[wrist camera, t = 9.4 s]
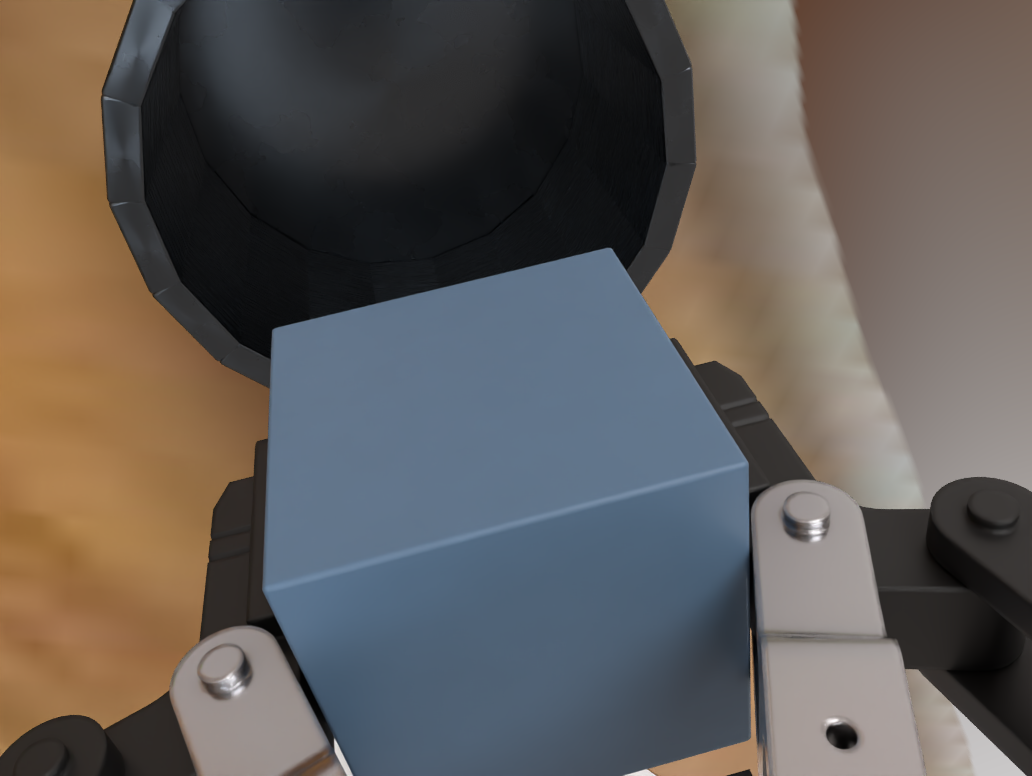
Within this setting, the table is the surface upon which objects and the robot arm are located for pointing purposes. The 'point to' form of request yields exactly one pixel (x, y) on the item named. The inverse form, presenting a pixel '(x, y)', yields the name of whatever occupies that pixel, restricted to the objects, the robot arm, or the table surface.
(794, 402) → the table surface
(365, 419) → the block
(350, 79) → the pot
